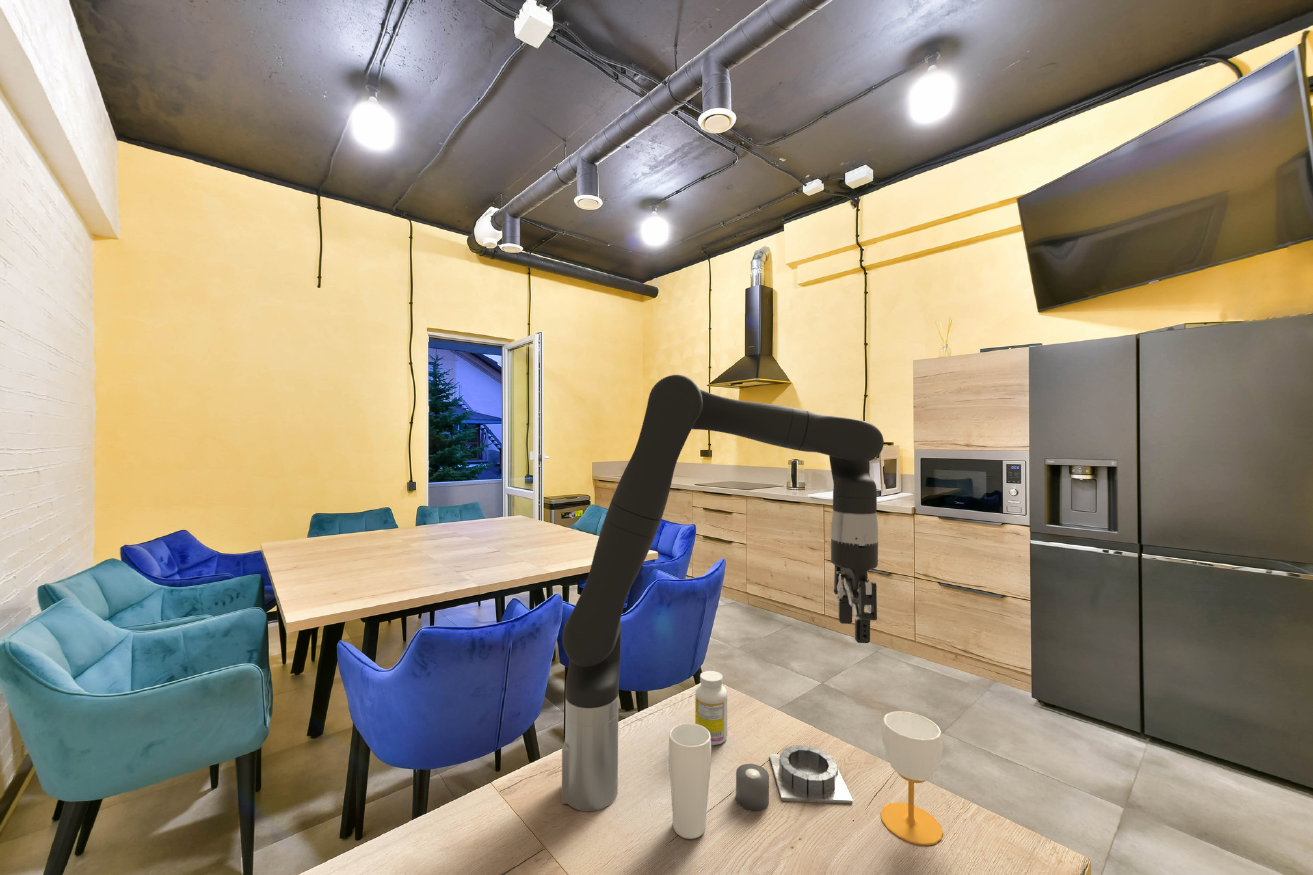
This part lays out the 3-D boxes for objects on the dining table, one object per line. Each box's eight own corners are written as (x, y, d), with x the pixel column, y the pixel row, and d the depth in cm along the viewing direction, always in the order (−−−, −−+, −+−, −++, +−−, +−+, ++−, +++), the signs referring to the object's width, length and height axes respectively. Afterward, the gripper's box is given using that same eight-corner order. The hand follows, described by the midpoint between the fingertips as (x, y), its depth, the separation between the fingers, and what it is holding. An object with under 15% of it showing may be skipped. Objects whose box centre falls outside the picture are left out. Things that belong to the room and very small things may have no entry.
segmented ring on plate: (781, 800, 87) (781, 782, 87) (769, 756, 99) (769, 741, 99) (852, 803, 87) (852, 785, 87) (831, 759, 99) (831, 743, 99)
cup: (911, 798, 88) (911, 706, 88) (956, 837, 80) (957, 735, 80) (868, 809, 85) (869, 714, 85) (910, 851, 77) (911, 745, 77)
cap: (737, 811, 85) (738, 783, 85) (734, 788, 91) (734, 762, 91) (771, 812, 85) (771, 784, 85) (765, 789, 90) (766, 763, 90)
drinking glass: (708, 848, 77) (709, 749, 77) (664, 840, 78) (665, 743, 78) (712, 815, 84) (713, 724, 84) (672, 809, 85) (672, 720, 85)
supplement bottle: (705, 724, 110) (705, 665, 110) (732, 735, 107) (733, 673, 107) (689, 739, 105) (689, 677, 105) (717, 750, 101) (717, 686, 101)
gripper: (820, 529, 94) (819, 617, 94) (845, 546, 80) (844, 648, 80) (861, 530, 94) (860, 618, 94) (894, 547, 80) (893, 650, 80)
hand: (853, 632), depth 87 cm, fingers open, 8 cm apart
